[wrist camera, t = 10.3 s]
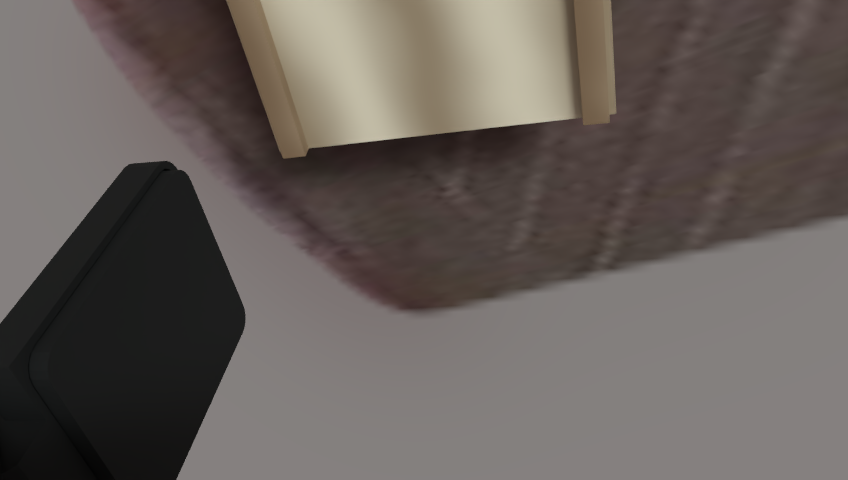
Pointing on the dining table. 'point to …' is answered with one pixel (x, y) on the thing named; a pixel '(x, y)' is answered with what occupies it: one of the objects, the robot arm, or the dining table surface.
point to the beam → (424, 66)
